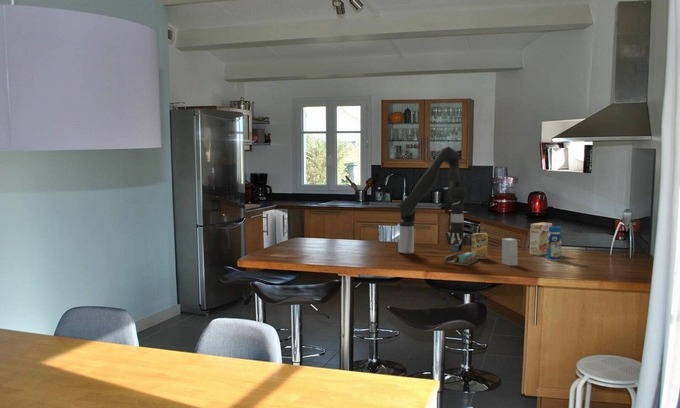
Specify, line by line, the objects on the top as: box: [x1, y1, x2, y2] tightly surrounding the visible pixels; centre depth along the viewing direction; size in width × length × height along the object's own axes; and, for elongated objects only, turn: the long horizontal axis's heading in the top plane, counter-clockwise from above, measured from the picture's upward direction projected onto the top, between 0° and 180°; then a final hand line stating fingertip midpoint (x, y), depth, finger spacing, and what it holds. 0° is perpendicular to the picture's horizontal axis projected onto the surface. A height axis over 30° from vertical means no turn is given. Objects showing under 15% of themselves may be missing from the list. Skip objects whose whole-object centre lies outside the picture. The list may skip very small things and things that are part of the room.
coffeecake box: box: [529, 221, 553, 257], centre depth 376 cm, size 15×7×20 cm, turn 131°
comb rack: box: [443, 252, 478, 267], centre depth 346 cm, size 18×14×4 cm
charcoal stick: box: [449, 243, 464, 254], centre depth 348 cm, size 12×4×4 cm, turn 148°
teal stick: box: [458, 251, 472, 263], centre depth 345 cm, size 12×4×4 cm, turn 147°
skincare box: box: [501, 237, 519, 266], centre depth 340 cm, size 8×6×15 cm
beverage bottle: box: [546, 225, 563, 262], centre depth 355 cm, size 8×8×20 cm
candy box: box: [471, 232, 489, 260], centre depth 358 cm, size 9×4×15 cm, turn 107°
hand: (456, 250), depth 348 cm, fingers closed on charcoal stick, 3 cm apart
